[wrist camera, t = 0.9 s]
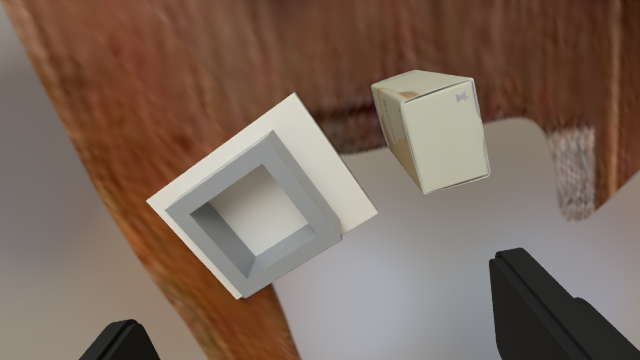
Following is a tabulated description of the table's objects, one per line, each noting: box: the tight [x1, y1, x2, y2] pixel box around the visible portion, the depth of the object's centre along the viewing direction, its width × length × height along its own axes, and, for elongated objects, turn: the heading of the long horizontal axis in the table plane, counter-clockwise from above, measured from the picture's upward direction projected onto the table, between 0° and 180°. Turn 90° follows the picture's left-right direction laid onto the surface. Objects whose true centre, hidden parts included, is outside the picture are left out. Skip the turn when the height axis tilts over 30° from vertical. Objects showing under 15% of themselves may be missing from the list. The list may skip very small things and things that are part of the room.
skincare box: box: [371, 70, 491, 194], centre depth 25 cm, size 6×4×12 cm
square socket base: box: [146, 92, 378, 299], centre depth 32 cm, size 18×14×5 cm
